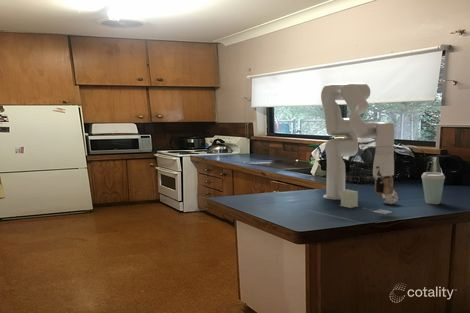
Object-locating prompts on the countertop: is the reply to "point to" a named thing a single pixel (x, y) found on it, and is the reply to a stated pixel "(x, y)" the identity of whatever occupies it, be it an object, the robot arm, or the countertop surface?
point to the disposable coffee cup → (433, 186)
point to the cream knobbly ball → (390, 198)
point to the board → (376, 211)
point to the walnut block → (386, 186)
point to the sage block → (349, 198)
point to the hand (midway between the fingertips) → (383, 191)
